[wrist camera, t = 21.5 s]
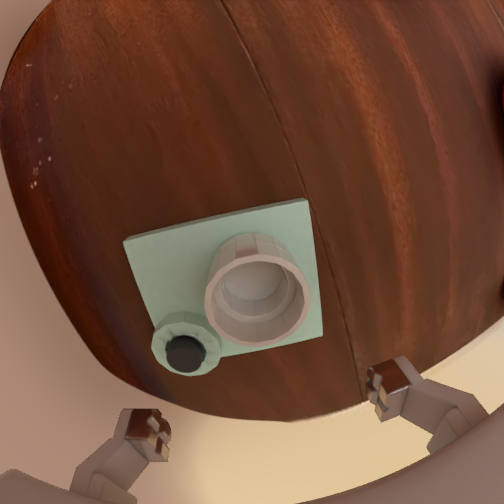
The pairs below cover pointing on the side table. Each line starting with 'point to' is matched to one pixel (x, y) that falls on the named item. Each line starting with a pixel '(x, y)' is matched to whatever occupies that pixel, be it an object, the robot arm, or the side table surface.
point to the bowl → (255, 291)
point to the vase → (503, 98)
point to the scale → (197, 270)
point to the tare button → (185, 354)
